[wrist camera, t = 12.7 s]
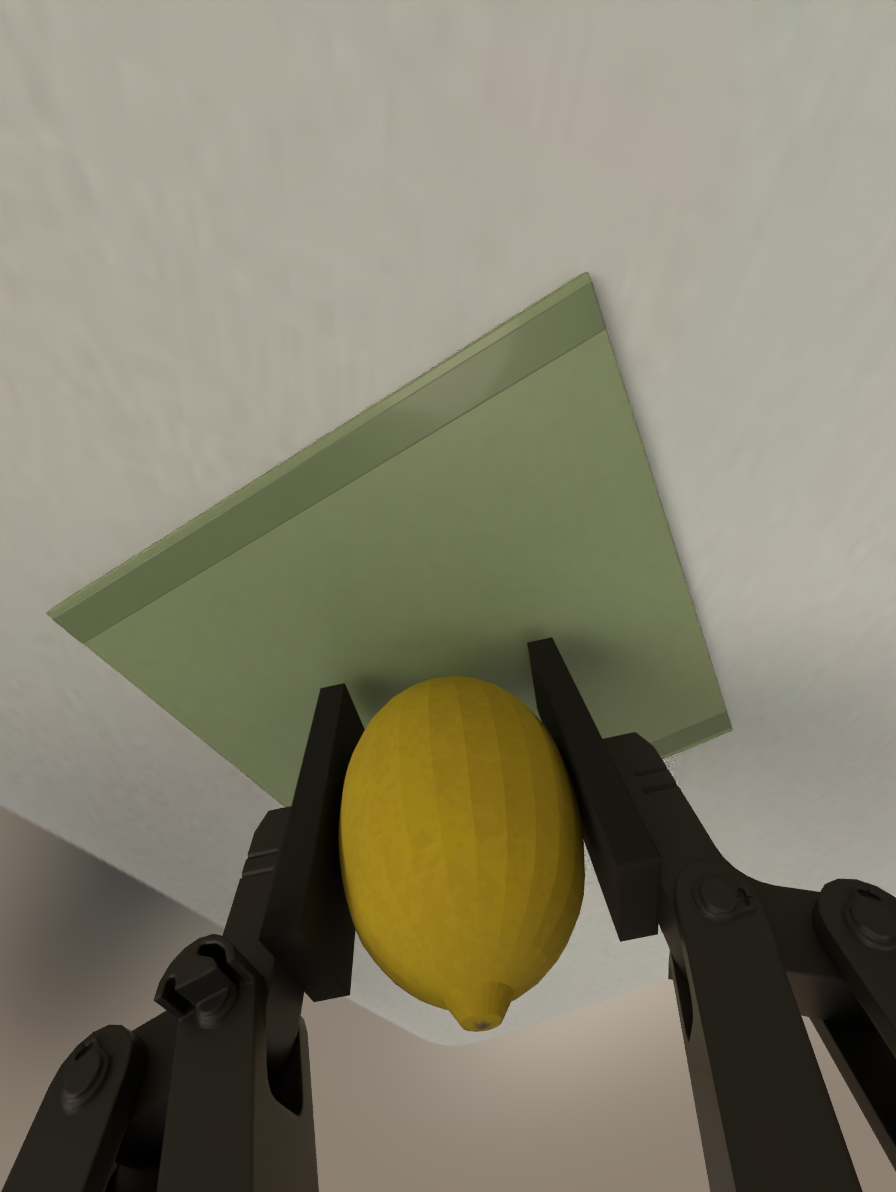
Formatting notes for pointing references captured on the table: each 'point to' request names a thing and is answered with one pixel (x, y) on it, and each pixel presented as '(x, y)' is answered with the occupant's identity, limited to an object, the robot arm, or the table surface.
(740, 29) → the table surface
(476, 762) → the lemon
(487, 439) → the napkin
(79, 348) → the table surface
